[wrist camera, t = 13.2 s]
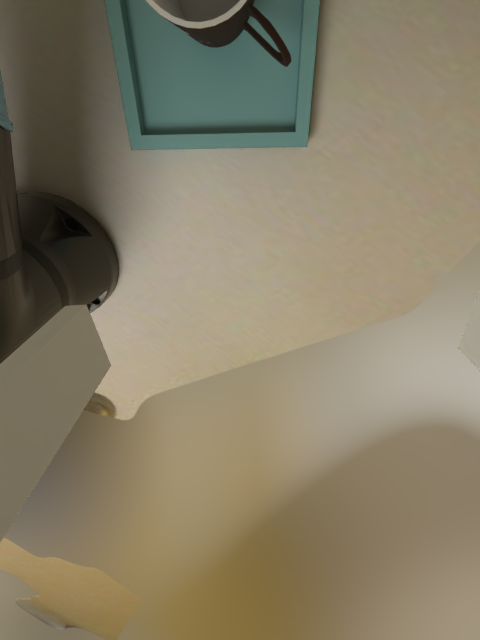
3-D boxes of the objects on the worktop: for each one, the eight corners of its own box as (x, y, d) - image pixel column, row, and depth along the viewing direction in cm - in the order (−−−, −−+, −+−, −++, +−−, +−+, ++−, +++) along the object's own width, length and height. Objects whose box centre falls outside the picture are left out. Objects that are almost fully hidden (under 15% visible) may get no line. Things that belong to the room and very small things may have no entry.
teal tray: (138, 149, 31) (131, 150, 29) (86, -161, 21) (70, -191, 19) (303, 146, 30) (307, 146, 28) (330, -177, 20) (338, -209, 18)
